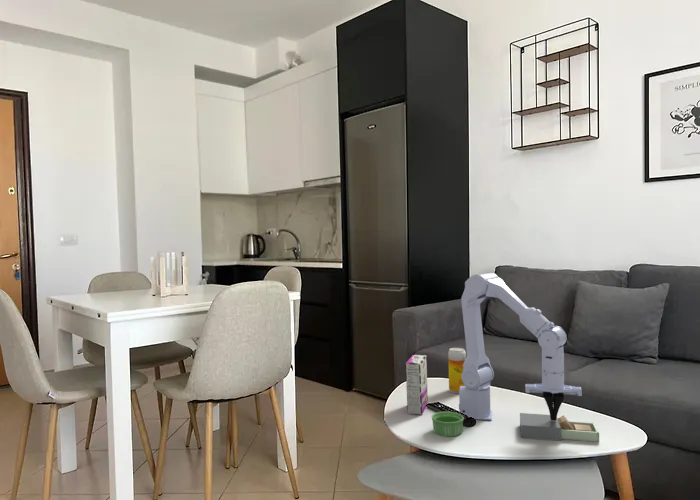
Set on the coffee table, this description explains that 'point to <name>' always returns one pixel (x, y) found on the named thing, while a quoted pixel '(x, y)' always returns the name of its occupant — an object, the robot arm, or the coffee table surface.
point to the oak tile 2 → (582, 427)
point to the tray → (581, 433)
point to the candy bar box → (416, 384)
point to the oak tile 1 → (565, 423)
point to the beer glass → (456, 368)
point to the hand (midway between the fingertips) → (553, 419)
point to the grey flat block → (539, 427)
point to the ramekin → (447, 423)
